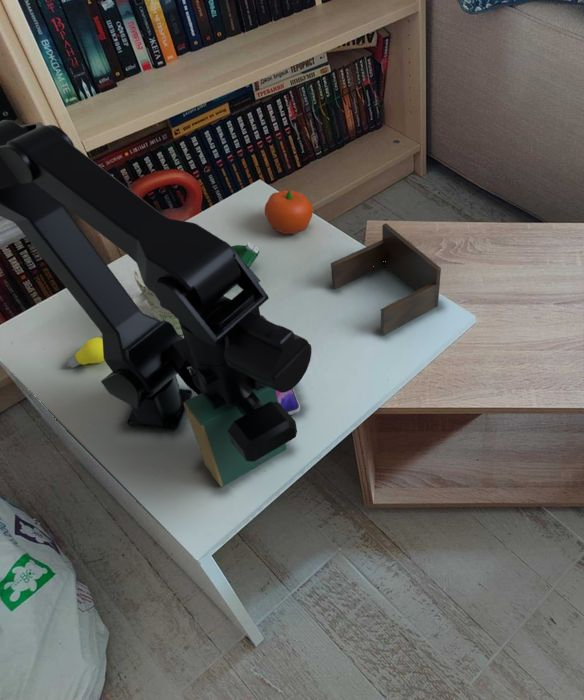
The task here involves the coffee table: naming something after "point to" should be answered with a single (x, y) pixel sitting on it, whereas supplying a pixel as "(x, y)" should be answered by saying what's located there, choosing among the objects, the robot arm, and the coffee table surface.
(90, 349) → the light bulb
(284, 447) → the book
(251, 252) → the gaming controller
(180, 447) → the coffee table surface
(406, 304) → the book rack
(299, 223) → the pumpkin
